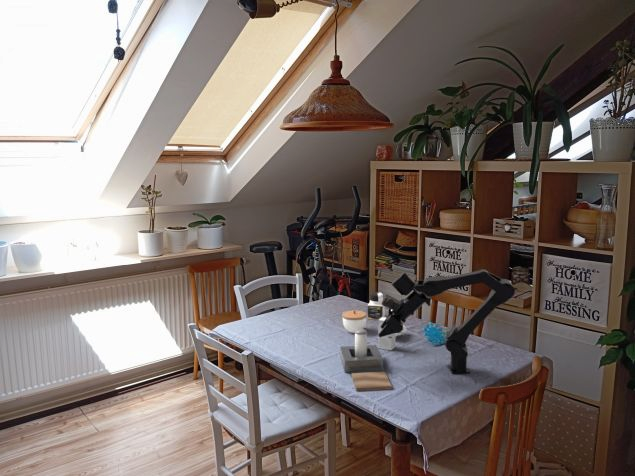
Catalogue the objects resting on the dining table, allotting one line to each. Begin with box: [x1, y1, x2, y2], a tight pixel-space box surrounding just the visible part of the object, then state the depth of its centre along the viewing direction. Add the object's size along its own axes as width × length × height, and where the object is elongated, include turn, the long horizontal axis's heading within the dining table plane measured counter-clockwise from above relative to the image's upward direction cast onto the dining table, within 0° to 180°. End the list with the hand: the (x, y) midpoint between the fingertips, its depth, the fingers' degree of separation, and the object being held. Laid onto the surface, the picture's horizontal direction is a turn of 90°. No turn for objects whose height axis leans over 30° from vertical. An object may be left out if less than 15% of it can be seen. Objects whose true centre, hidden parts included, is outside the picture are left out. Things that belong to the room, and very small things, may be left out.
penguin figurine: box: [395, 324, 407, 338], centre depth 229 cm, size 6×8×12 cm
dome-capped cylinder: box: [354, 329, 368, 357], centre depth 200 cm, size 4×4×13 cm
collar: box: [339, 344, 384, 374], centre depth 201 cm, size 14×14×4 cm
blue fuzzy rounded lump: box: [422, 322, 447, 346], centre depth 222 cm, size 11×6×10 cm
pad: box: [351, 371, 393, 392], centre depth 186 cm, size 12×12×1 cm
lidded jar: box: [341, 309, 368, 334], centre depth 237 cm, size 11×11×9 cm
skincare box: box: [377, 316, 396, 351], centre depth 216 cm, size 6×4×12 cm
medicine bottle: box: [367, 291, 386, 321], centre depth 255 cm, size 7×7×12 cm
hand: (380, 331), depth 198 cm, fingers open, 9 cm apart
